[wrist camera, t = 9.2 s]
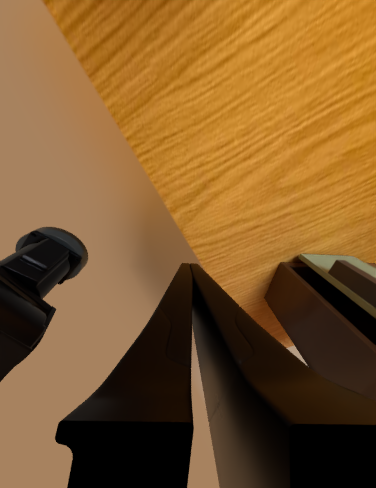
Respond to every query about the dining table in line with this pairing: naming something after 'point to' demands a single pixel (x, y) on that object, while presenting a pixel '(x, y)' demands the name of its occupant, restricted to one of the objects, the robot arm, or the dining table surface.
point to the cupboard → (326, 327)
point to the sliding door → (347, 277)
